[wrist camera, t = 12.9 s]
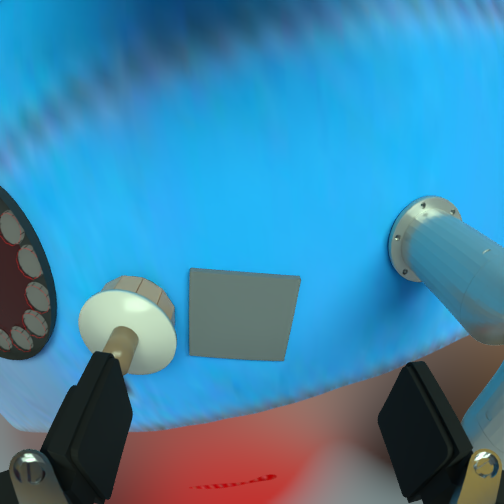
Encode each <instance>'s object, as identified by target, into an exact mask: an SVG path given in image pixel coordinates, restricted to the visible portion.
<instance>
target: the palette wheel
mask: <svg viewBox="0 0 504 504" xmlns="http://www.w3.org/2000/svg"><path fill="white" fill-rule="evenodd" d="M56 310H57V303H56V292H55V287H54V281H53V277H52V274H51V270H50V266H49V263H48V261H47V258H46V255H45V252H44V250H43V248H42V245H41V243H40V241H39V239H38V237H37V235H36V233H35V231H34V229H33V227H32V225H31V224H30V222H29V220H28V219H27V217H26V216H25V214H24V212H23V211H22V210H21V208H20V207H19V206H18V204H17V203H16V202H15V200H14V199H13V198H12V197H11V196H10V195H9V194H8V193H7V192H6V191H5V190H4V189H3V188H2V187H1V186H0V357H2V358H6V359H11V360H23V359H28V358H31V357H33V356H35V355H36V354H37V353H39V352H40V351H41V349H42V348H43V347H44V346H45V344H46V343H47V341H48V340H49V338H50V336H51V334H52V332H53V329H54V326H55V321H56Z"/></svg>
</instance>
